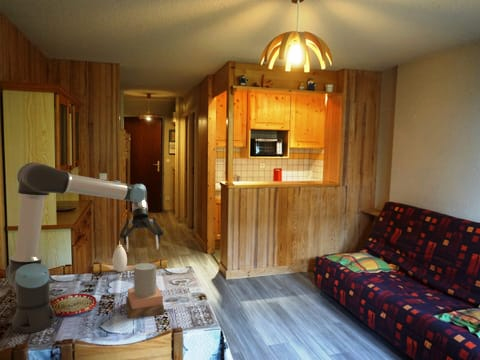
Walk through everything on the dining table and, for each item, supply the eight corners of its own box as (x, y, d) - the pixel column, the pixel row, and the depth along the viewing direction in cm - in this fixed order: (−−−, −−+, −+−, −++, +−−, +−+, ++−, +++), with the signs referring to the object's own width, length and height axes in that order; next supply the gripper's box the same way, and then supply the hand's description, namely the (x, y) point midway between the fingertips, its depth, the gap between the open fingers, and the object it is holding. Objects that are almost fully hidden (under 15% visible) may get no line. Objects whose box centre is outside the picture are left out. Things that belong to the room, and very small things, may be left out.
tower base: (127, 319, 156) (127, 310, 155) (125, 304, 170) (125, 296, 169) (163, 314, 161) (163, 306, 160) (158, 300, 175) (158, 292, 174)
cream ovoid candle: (129, 269, 213) (129, 239, 211) (123, 274, 205) (123, 242, 203) (116, 268, 214) (115, 238, 212) (110, 273, 206) (109, 242, 204)
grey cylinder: (144, 287, 170) (145, 261, 169) (160, 291, 166) (161, 265, 164) (129, 294, 162) (129, 267, 161) (145, 299, 157) (145, 271, 156)
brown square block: (132, 309, 156) (132, 300, 156) (128, 297, 168) (127, 289, 168) (162, 304, 162) (162, 295, 161) (156, 293, 173) (156, 285, 173)
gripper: (164, 214, 191) (168, 251, 178) (113, 216, 183) (114, 255, 170) (166, 206, 185) (170, 243, 173) (113, 208, 177) (114, 247, 165)
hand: (142, 249), depth 172 cm, fingers open, 13 cm apart
